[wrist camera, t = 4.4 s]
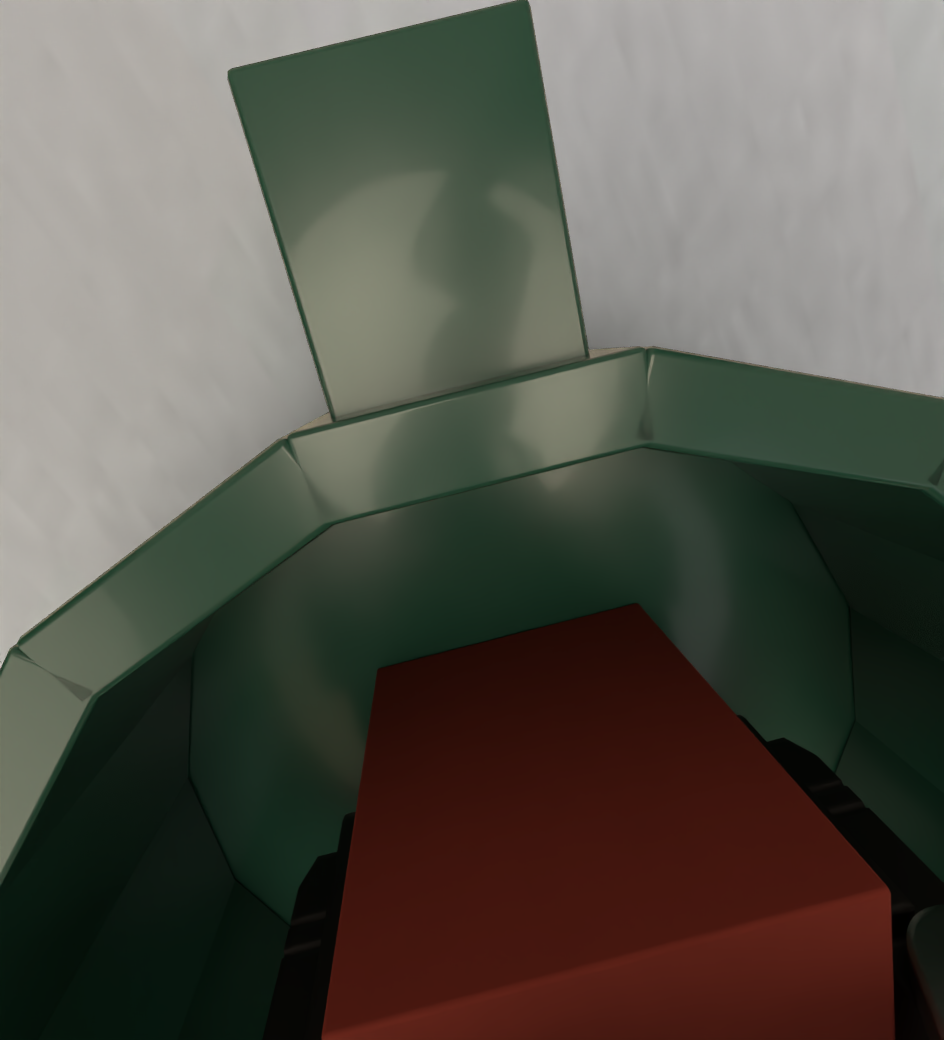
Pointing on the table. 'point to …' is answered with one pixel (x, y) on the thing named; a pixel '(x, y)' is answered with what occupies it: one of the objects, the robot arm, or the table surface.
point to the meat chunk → (594, 859)
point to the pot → (438, 547)
